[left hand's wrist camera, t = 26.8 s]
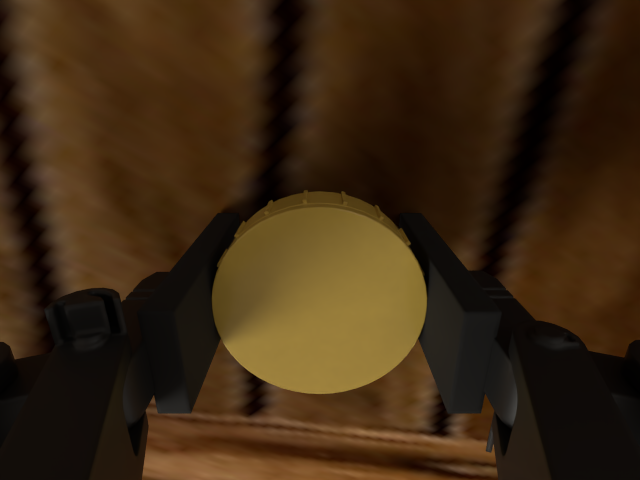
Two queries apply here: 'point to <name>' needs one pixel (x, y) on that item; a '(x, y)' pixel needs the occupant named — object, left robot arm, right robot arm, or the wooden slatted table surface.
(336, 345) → the lid
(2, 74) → the wooden slatted table surface
